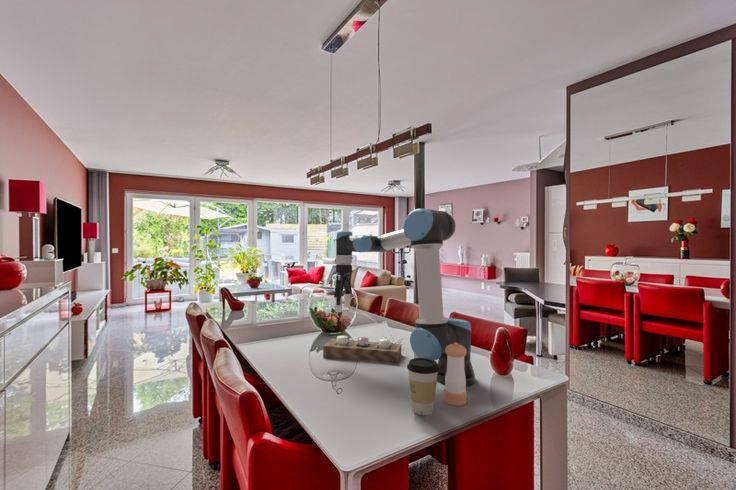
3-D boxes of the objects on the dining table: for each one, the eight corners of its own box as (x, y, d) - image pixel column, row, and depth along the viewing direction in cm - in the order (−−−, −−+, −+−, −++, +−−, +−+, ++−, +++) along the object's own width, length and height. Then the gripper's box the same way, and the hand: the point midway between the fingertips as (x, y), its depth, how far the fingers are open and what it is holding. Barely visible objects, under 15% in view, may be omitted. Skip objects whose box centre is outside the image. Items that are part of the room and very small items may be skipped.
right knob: (390, 349, 165) (390, 339, 165) (388, 353, 160) (388, 341, 160) (379, 349, 166) (380, 338, 166) (377, 352, 161) (377, 341, 161)
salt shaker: (467, 406, 114) (468, 346, 114) (443, 404, 115) (444, 344, 116) (465, 397, 121) (466, 340, 121) (443, 395, 123) (444, 339, 123)
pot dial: (369, 348, 167) (369, 336, 167) (366, 351, 163) (367, 339, 163) (359, 347, 168) (359, 335, 169) (356, 350, 164) (356, 338, 164)
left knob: (348, 346, 170) (348, 336, 170) (345, 349, 165) (345, 338, 165) (338, 345, 171) (338, 335, 171) (335, 348, 166) (335, 337, 166)
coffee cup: (417, 400, 118) (417, 355, 118) (444, 409, 111) (444, 361, 112) (400, 411, 110) (400, 362, 110) (428, 421, 104) (429, 369, 104)
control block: (401, 354, 168) (401, 344, 168) (397, 363, 155) (397, 351, 155) (332, 349, 176) (332, 338, 176) (323, 356, 163) (323, 345, 163)
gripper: (343, 265, 155) (343, 314, 155) (358, 263, 179) (357, 305, 179) (327, 265, 157) (326, 313, 157) (344, 262, 181) (343, 305, 181)
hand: (343, 309), depth 168 cm, fingers open, 12 cm apart
